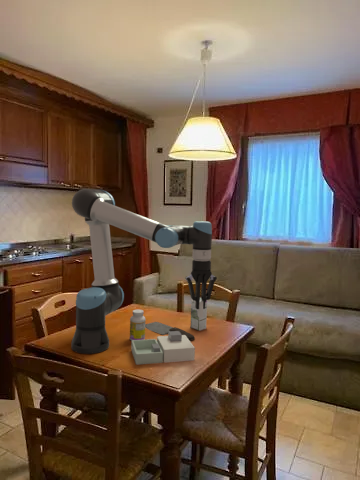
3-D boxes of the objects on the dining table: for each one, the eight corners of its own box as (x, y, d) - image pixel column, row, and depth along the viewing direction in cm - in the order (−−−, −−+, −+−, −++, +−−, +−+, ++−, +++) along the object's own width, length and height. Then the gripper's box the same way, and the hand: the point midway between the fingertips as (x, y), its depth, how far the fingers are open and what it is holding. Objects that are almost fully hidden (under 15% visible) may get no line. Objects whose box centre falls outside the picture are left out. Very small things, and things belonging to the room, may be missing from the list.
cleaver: (198, 339, 166) (198, 334, 166) (183, 344, 159) (183, 339, 159) (155, 323, 187) (155, 319, 187) (139, 327, 180) (139, 323, 180)
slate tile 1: (159, 359, 141) (153, 359, 141) (157, 354, 146) (151, 355, 145) (160, 348, 141) (153, 348, 140) (157, 343, 145) (151, 343, 145)
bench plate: (163, 362, 140) (164, 349, 140) (156, 348, 154) (157, 336, 153) (194, 360, 143) (194, 347, 143) (184, 346, 157) (185, 334, 156)
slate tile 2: (170, 341, 148) (170, 335, 148) (168, 337, 153) (168, 331, 152) (181, 340, 149) (181, 334, 149) (178, 336, 154) (178, 330, 153)
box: (136, 364, 137) (136, 354, 137) (131, 349, 151) (131, 340, 151) (162, 362, 140) (162, 352, 140) (155, 348, 153) (155, 338, 153)
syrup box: (206, 328, 180) (208, 299, 179) (198, 331, 176) (200, 301, 174) (197, 325, 184) (199, 296, 183) (189, 328, 180) (190, 298, 178)
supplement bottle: (128, 337, 165) (129, 308, 163) (143, 336, 166) (144, 308, 165) (130, 342, 158) (131, 313, 157) (146, 341, 160) (147, 313, 159)
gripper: (188, 261, 145) (187, 320, 147) (220, 260, 148) (218, 318, 150) (183, 258, 152) (182, 314, 154) (213, 258, 155) (212, 313, 158)
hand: (200, 316), depth 152 cm, fingers closed
